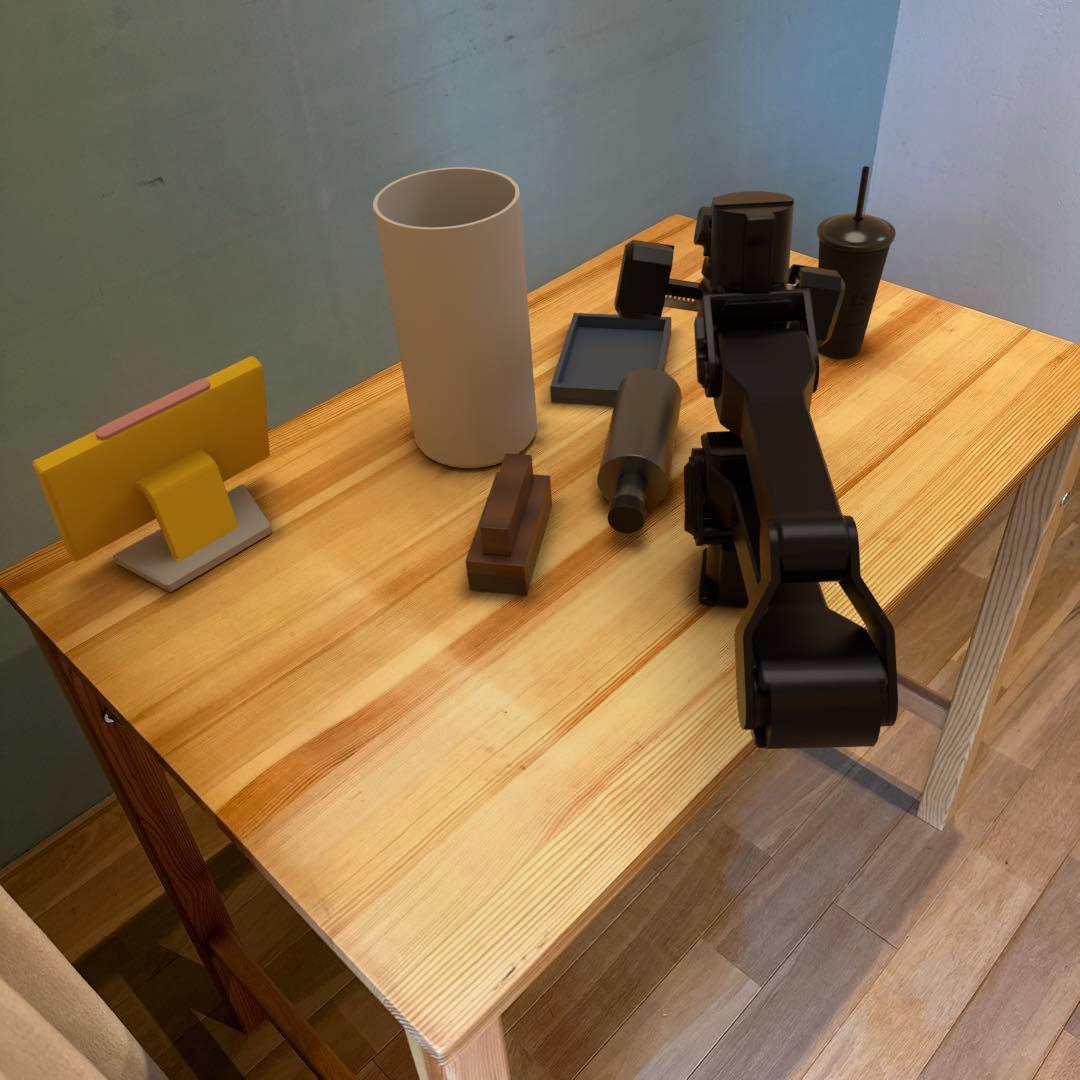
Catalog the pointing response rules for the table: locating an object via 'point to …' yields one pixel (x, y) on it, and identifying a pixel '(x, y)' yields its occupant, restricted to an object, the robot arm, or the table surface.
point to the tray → (606, 356)
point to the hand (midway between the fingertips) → (715, 265)
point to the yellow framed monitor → (166, 478)
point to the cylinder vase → (460, 311)
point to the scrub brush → (510, 529)
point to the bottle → (639, 447)
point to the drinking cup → (854, 270)
